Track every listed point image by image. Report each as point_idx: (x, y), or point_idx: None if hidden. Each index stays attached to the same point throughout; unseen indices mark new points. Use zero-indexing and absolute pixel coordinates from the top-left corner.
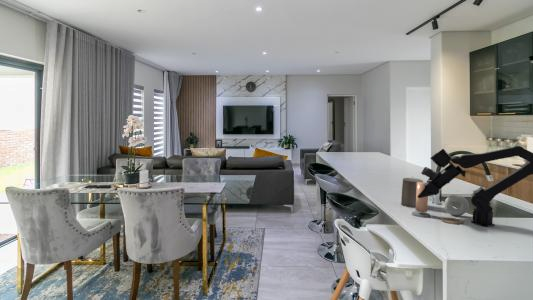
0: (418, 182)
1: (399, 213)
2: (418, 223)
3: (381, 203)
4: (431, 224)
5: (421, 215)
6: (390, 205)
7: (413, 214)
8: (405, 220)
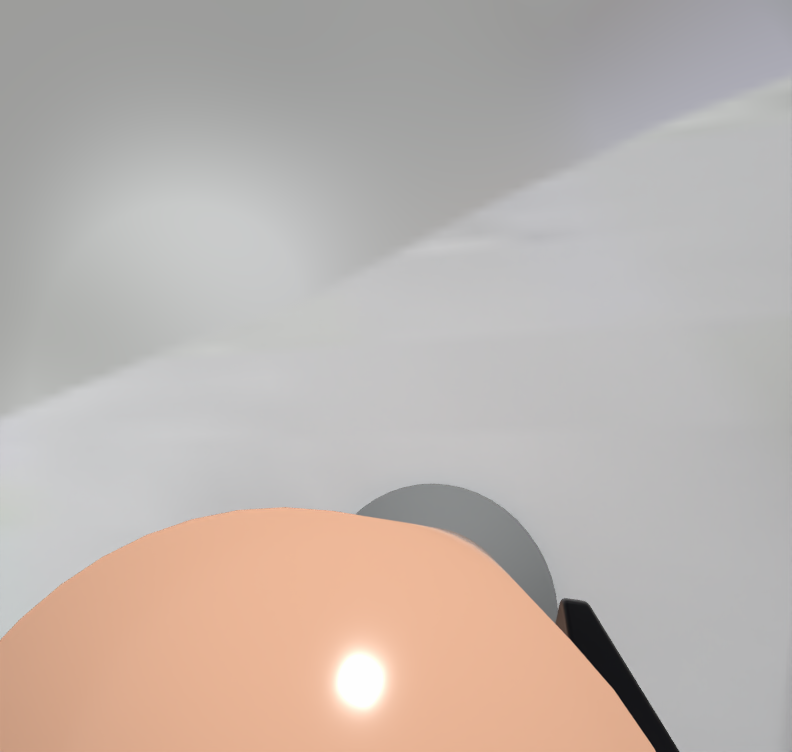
0: (382, 624)
1: (378, 340)
2: (36, 559)
3: (782, 98)
4: None
5: None
6: (743, 205)
7: (369, 504)
8: (109, 419)
